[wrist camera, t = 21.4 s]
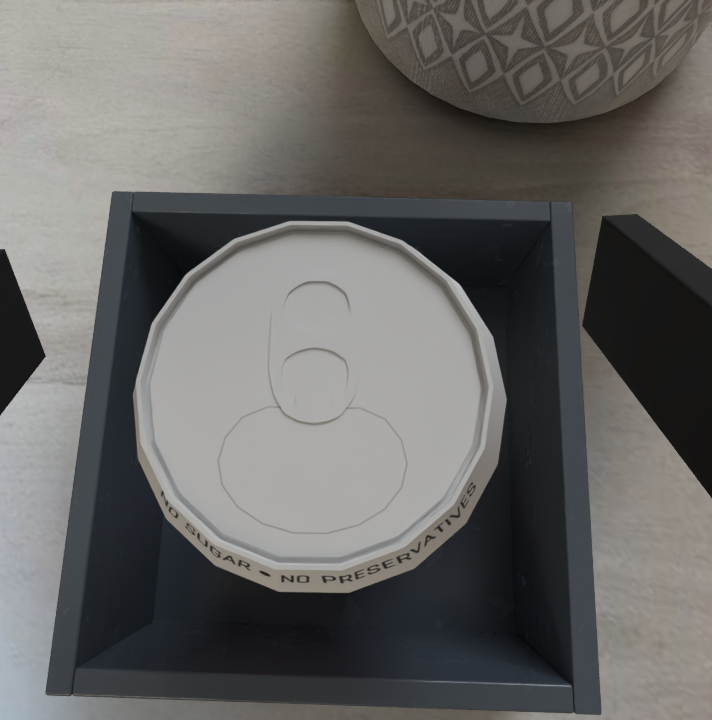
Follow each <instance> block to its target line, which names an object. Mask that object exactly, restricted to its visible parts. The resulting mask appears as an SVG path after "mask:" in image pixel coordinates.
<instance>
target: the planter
mask: <svg viewBox="0 0 712 720" xmlns="http://www.w3.org/2000/svg"><path fill="white" fill-rule="evenodd" d="M355 2H356V5H357V8H358V11H359V14H360V17H361V19H362V21H363V23H364V25H365V27H366V28H367V30H368V32H369V34H370V36H371V37H372V39H373V41H374V42H375V44H376V45H377V46H378V47H379V49H380V50H381V51H382V52H383V54H384V55H385V56H386V57H387V59H388V60H389V61H390V62H391V63H392V64H393V65H394V66H395V67H396V68H397V69H399V70H400V71H401V72H402V73H403V74H404V75H405V76H406V77H407V78H408V79H409V80H411V81H412V82H414V83H415V84H417V85H418V86H420V87H421V88H423V89H424V90H426V91H427V92H429V93H430V94H432V95H433V96H435V97H437V98H439V99H441V100H443V101H446V102H448V103H450V104H452V105H454V106H456V107H458V108H460V109H464V110H467V111H470V112H473V113H476V114H479V115H483V116H486V117H489V118H495V119H501V120H507V121H513V122H524V123H555V122H564V121H573V120H579V119H583V118H587V117H591V116H595V115H599V114H603V113H606V112H609V111H611V110H613V109H616V108H618V107H620V106H623V105H625V104H627V103H630V102H632V101H633V100H635V99H637V98H638V97H640V96H641V95H643V94H644V93H646V92H648V91H649V90H651V89H652V88H654V87H655V86H656V85H658V84H659V83H660V82H661V81H662V80H663V79H664V78H665V77H666V76H668V75H669V74H670V73H671V72H672V71H673V70H674V69H675V68H676V67H677V66H678V64H679V63H680V62H681V60H682V59H683V58H684V56H685V55H686V54H687V53H688V51H689V50H690V49H691V47H692V46H693V45H694V43H695V42H696V41H697V39H698V38H699V37H700V35H701V34H702V33H703V31H704V30H705V28H706V27H707V26H708V24H709V23H710V22H711V20H712V0H355Z"/></svg>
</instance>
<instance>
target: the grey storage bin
mask: <svg viewBox="0 0 712 720" xmlns="http://www.w3.org/2000/svg"><path fill="white" fill-rule="evenodd" d="M288 221H337V222H351V223H354V224H356V225H359V226H362V227H365V228H368V229H371V230H374V231H377V232H379V233H382V234H385V235H388V236H391V237H394V238H397V239H399V240H402V241H404V242H405V243H407V244H408V245H409V246H411V247H413V248H414V249H415V250H417V251H418V252H419V253H420V254H422V255H423V256H424V257H426V258H427V259H428V260H429V261H431V262H432V263H433V264H434V265H436V266H437V267H438V268H440V269H441V270H442V271H443V272H445V273H446V274H447V275H448V276H450V277H451V278H452V279H453V280H455V281H456V282H457V283H459V284H460V286H461V287H462V289H463V290H464V292H465V294H466V295H467V297H468V298H469V300H470V301H471V303H472V305H473V306H474V308H475V309H476V311H477V312H478V314H479V316H480V317H481V319H482V320H483V322H484V324H485V325H486V327H487V328H488V330H489V331H490V333H491V335H492V336H493V339H494V344H495V348H496V353H497V357H498V362H499V366H500V371H501V376H502V380H503V385H504V389H505V394H506V398H507V401H506V408H505V415H504V423H503V430H502V437H501V445H500V452H499V459H498V465H497V467H496V468H495V470H494V472H493V474H492V476H491V478H490V480H489V482H488V483H487V485H486V487H485V489H484V491H483V493H482V495H481V496H480V498H479V500H478V502H477V504H476V506H475V508H474V509H473V511H472V513H471V515H470V517H469V519H468V521H467V523H466V524H465V525H464V526H463V527H461V528H460V529H459V530H458V531H457V532H456V533H454V534H453V535H452V536H451V537H450V538H449V539H448V540H446V541H445V542H444V543H443V544H442V545H441V546H440V547H438V548H437V549H436V550H435V551H434V552H433V553H432V554H430V555H429V556H428V557H427V558H426V559H425V560H424V561H422V562H421V563H420V564H419V565H418V566H417V567H416V568H414V569H412V570H409V571H407V572H404V573H401V574H399V575H396V576H393V577H390V578H388V579H385V580H382V581H380V582H377V583H374V584H371V585H369V586H366V587H363V588H361V589H358V590H355V591H352V592H350V593H324V592H278V591H276V590H273V589H271V588H268V587H266V586H264V585H261V584H259V583H256V582H254V581H251V580H249V579H246V578H244V577H242V576H239V575H237V574H234V573H232V572H229V571H227V570H225V569H222V568H220V567H217V566H215V565H214V564H213V563H212V562H211V561H210V560H209V559H208V558H207V557H205V556H204V555H203V554H202V553H201V552H200V551H199V550H198V549H197V548H196V547H195V546H194V545H193V544H192V543H191V542H190V541H189V540H188V539H187V538H186V537H185V536H184V535H182V534H181V533H180V532H179V531H178V530H177V529H176V528H175V527H174V526H173V525H172V524H171V523H170V522H169V521H168V520H167V519H166V518H165V515H164V513H163V511H162V509H161V507H160V505H159V503H158V501H157V498H156V496H155V494H154V492H153V490H152V488H151V486H150V483H149V481H148V479H147V477H146V475H145V473H144V471H143V469H142V466H141V464H140V462H139V460H138V453H137V440H136V427H135V415H134V402H133V392H134V388H135V385H136V378H137V375H138V371H139V368H140V364H141V360H142V357H143V353H144V350H145V346H146V343H147V339H148V335H149V332H150V328H151V325H152V322H153V321H154V319H155V318H156V317H157V315H158V314H159V312H160V311H161V309H162V308H163V307H164V305H165V304H166V302H167V301H168V299H169V298H170V297H171V295H172V294H173V292H174V291H175V289H176V288H177V287H178V285H179V284H180V282H181V281H182V279H183V278H184V276H185V275H186V274H187V273H188V272H190V271H191V270H192V269H194V268H195V267H196V266H198V265H199V264H201V263H202V262H203V261H205V260H206V259H207V258H209V257H210V256H211V255H213V254H214V253H216V252H217V251H218V250H220V249H221V248H222V247H224V246H225V245H226V244H228V243H229V242H231V241H232V240H233V239H235V238H239V237H242V236H245V235H248V234H251V233H254V232H257V231H260V230H263V229H267V228H270V227H273V226H276V225H279V224H282V223H285V222H288ZM72 694H73V696H85V697H114V698H143V699H172V700H201V701H229V702H258V703H287V704H316V705H345V706H374V707H402V708H431V709H460V710H489V711H518V712H546V713H573V712H574V713H575V714H591V715H601V697H600V680H599V663H598V645H597V628H596V610H595V593H594V575H593V558H592V540H591V523H590V505H589V488H588V471H587V453H586V436H585V418H584V401H583V383H582V366H581V348H580V331H579V313H578V296H577V279H576V261H575V244H574V226H573V209H572V202H556V201H551V202H549V201H513V200H470V199H427V198H384V197H341V196H299V195H256V194H213V193H170V192H134V193H133V192H118V191H114V192H112V198H111V205H110V213H109V220H108V228H107V235H106V243H105V250H104V258H103V265H102V273H101V280H100V288H99V295H98V303H97V310H96V318H95V325H94V333H93V340H92V348H91V356H90V363H89V371H88V378H87V386H86V393H85V401H84V408H83V416H82V423H81V431H80V438H79V446H78V453H77V461H76V468H75V476H74V483H73V491H72V498H71V506H70V513H69V521H68V528H67V536H66V543H65V551H64V558H63V566H62V573H61V581H60V588H59V596H58V603H57V611H56V618H55V626H54V633H53V641H52V648H51V656H50V663H49V671H48V678H47V686H46V695H51V696H71V695H72Z"/></svg>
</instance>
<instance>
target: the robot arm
mask: <svg viewBox="0 0 712 720" xmlns="http://www.w3.org/2000/svg"><path fill="white" fill-rule="evenodd" d="M582 326H583V327H584V329H585V330H586V331H587V333H588V334H589V335H590V337H591V338H592V339H593V341H594V342H595V343H596V345H597V346H598V347H599V349H600V350H601V351H602V353H603V354H604V355H605V357H606V358H607V359H608V361H609V362H610V363H611V365H612V366H613V367H614V369H615V370H616V371H617V373H618V374H619V375H620V377H621V378H622V379H623V381H624V382H625V383H626V385H627V386H628V387H629V389H630V390H631V391H632V393H633V394H634V395H635V397H636V398H637V399H638V401H639V402H640V403H641V405H642V406H643V407H644V409H645V410H646V411H647V413H648V414H649V415H650V417H651V418H652V419H653V421H654V422H655V423H656V425H657V426H658V427H659V429H660V430H661V431H662V432H663V434H664V435H665V436H666V438H667V439H668V440H669V442H670V443H671V444H672V446H673V447H674V448H675V450H676V451H677V452H678V454H679V455H680V456H681V458H682V459H683V460H684V462H685V463H686V464H687V466H688V467H689V468H690V470H691V471H692V472H693V474H694V475H695V476H696V478H697V479H698V480H699V482H700V483H701V484H702V486H703V487H704V488H705V490H706V491H707V492H708V494H709V495H710V496H711V498H712V269H711V268H710V267H708V266H707V265H706V264H704V263H703V262H702V261H700V260H699V259H697V258H696V257H695V256H693V255H692V254H691V253H689V252H688V251H687V250H685V249H684V248H682V247H681V246H680V245H678V244H677V243H676V242H674V241H673V240H672V239H670V238H669V237H667V236H666V235H665V234H663V233H662V232H661V231H659V230H658V229H657V228H655V227H654V226H652V225H651V224H650V223H648V222H647V221H646V220H644V219H643V218H641V217H640V216H639V215H637V214H632V215H614V216H602V221H601V227H600V232H599V238H598V243H597V248H596V254H595V259H594V265H593V270H592V276H591V281H590V286H589V292H588V297H587V303H586V308H585V313H584V319H583V324H582ZM45 357H46V356H45V353H44V351H43V348H42V345H41V343H40V340H39V338H38V335H37V332H36V330H35V327H34V324H33V322H32V319H31V317H30V314H29V311H28V309H27V306H26V304H25V301H24V298H23V296H22V293H21V291H20V288H19V285H18V283H17V280H16V278H15V275H14V272H13V270H12V267H11V264H10V262H9V259H8V257H7V254H6V251H5V249H0V415H1V414H2V412H3V411H4V410H5V408H6V407H7V406H8V404H9V403H10V402H11V401H12V399H13V398H14V397H15V395H16V394H17V393H18V392H19V390H20V389H21V388H22V386H23V385H24V384H25V382H26V381H27V380H28V379H29V377H30V376H31V375H32V373H33V372H34V371H35V369H36V368H37V367H38V366H39V364H40V363H41V362H42V360H43V359H44V358H45Z"/></svg>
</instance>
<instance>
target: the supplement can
mask: <svg viewBox="0 0 712 720" xmlns="http://www.w3.org/2000/svg"><path fill="white" fill-rule="evenodd" d="M506 401H507V398H506V394H505V389H504V385H503V380H502V376H501V371H500V366H499V362H498V357H497V353H496V348H495V344H494V339H493V336H492V335H491V333H490V331H489V330H488V328H487V327H486V325H485V324H484V322H483V320H482V319H481V317H480V316H479V314H478V312H477V311H476V309H475V308H474V306H473V305H472V303H471V301H470V300H469V298H468V297H467V295H466V294H465V292H464V290H463V289H462V287H461V286H460V284H459V283H457V282H456V281H455V280H453V279H452V278H451V277H450V276H448V275H447V274H446V273H445V272H443V271H442V270H441V269H440V268H438V267H437V266H436V265H434V264H433V263H432V262H431V261H429V260H428V259H427V258H426V257H424V256H423V255H422V254H420V253H419V252H418V251H417V250H415V249H414V248H413V247H411V246H409V245H408V244H407V243H405V242H404V241H402V240H399V239H397V238H394V237H391V236H388V235H385V234H382V233H379V232H377V231H374V230H371V229H368V228H365V227H362V226H359V225H356V224H354V223H351V222H337V221H288V222H285V223H282V224H279V225H276V226H273V227H270V228H267V229H263V230H260V231H257V232H254V233H251V234H248V235H245V236H242V237H239V238H235V239H233V240H232V241H231V242H229V243H228V244H226V245H225V246H224V247H222V248H221V249H220V250H218V251H217V252H216V253H214V254H213V255H211V256H210V257H209V258H207V259H206V260H205V261H203V262H202V263H201V264H199V265H198V266H196V267H195V268H194V269H192V270H191V271H190V272H188V273H187V274H186V275H185V276H184V278H183V279H182V281H181V282H180V284H179V285H178V287H177V288H176V289H175V291H174V292H173V294H172V295H171V297H170V298H169V299H168V301H167V302H166V304H165V305H164V307H163V308H162V309H161V311H160V312H159V314H158V315H157V317H156V318H155V319H154V321H153V322H152V325H151V328H150V332H149V335H148V339H147V343H146V346H145V350H144V353H143V357H142V360H141V364H140V368H139V371H138V375H137V378H136V385H135V388H134V392H133V402H134V415H135V427H136V440H137V453H138V460H139V462H140V464H141V466H142V469H143V471H144V473H145V475H146V477H147V479H148V481H149V483H150V486H151V488H152V490H153V492H154V494H155V496H156V498H157V501H158V503H159V505H160V507H161V509H162V511H163V513H164V515H165V518H166V519H167V520H168V521H169V522H170V523H171V524H172V525H173V526H174V527H175V528H176V529H177V530H178V531H179V532H180V533H181V534H182V535H184V536H185V537H186V538H187V539H188V540H189V541H190V542H191V543H192V544H193V545H194V546H195V547H196V548H197V549H198V550H199V551H200V552H201V553H202V554H203V555H204V556H205V557H207V558H208V559H209V560H210V561H211V562H212V563H213V564H214V565H215V566H217V567H220V568H222V569H225V570H227V571H229V572H232V573H234V574H237V575H239V576H242V577H244V578H246V579H249V580H251V581H254V582H256V583H259V584H261V585H264V586H266V587H268V588H271V589H273V590H276V591H278V592H324V593H350V592H352V591H355V590H358V589H361V588H363V587H366V586H369V585H371V584H374V583H377V582H380V581H382V580H385V579H388V578H390V577H393V576H396V575H399V574H401V573H404V572H407V571H409V570H412V569H414V568H416V567H417V566H418V565H419V564H420V563H421V562H422V561H424V560H425V559H426V558H427V557H428V556H429V555H430V554H432V553H433V552H434V551H435V550H436V549H437V548H438V547H440V546H441V545H442V544H443V543H444V542H445V541H446V540H448V539H449V538H450V537H451V536H452V535H453V534H454V533H456V532H457V531H458V530H459V529H460V528H461V527H463V526H464V525H465V524H466V523H467V521H468V519H469V517H470V515H471V513H472V511H473V509H474V508H475V506H476V504H477V502H478V500H479V498H480V496H481V495H482V493H483V491H484V489H485V487H486V485H487V483H488V482H489V480H490V478H491V476H492V474H493V472H494V470H495V468H496V467H497V465H498V459H499V452H500V445H501V437H502V430H503V423H504V415H505V408H506Z"/></svg>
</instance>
